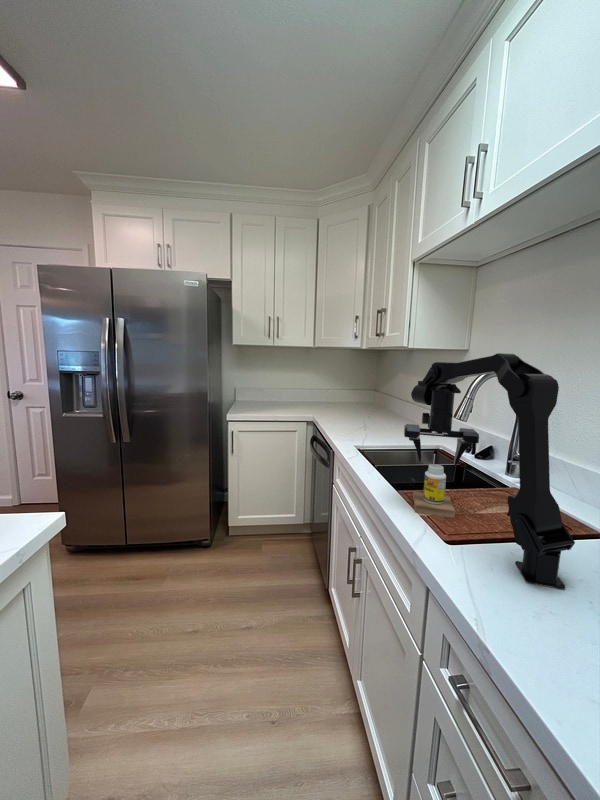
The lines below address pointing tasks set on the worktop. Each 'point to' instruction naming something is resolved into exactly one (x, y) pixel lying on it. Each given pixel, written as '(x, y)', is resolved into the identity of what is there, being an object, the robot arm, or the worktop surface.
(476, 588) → the worktop surface
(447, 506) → the beige square slab
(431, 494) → the supplement bottle
